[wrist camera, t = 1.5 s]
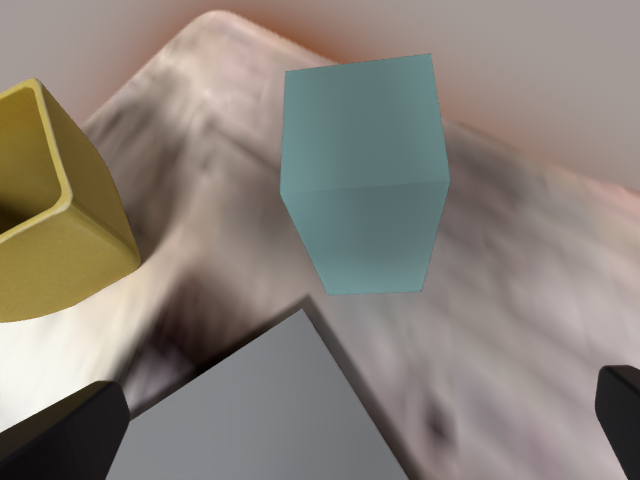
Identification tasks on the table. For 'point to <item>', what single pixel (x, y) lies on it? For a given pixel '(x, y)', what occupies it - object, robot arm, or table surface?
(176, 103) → the table surface
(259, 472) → the coaster
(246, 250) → the table surface
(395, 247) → the block
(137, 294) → the table surface
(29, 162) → the flower pot
